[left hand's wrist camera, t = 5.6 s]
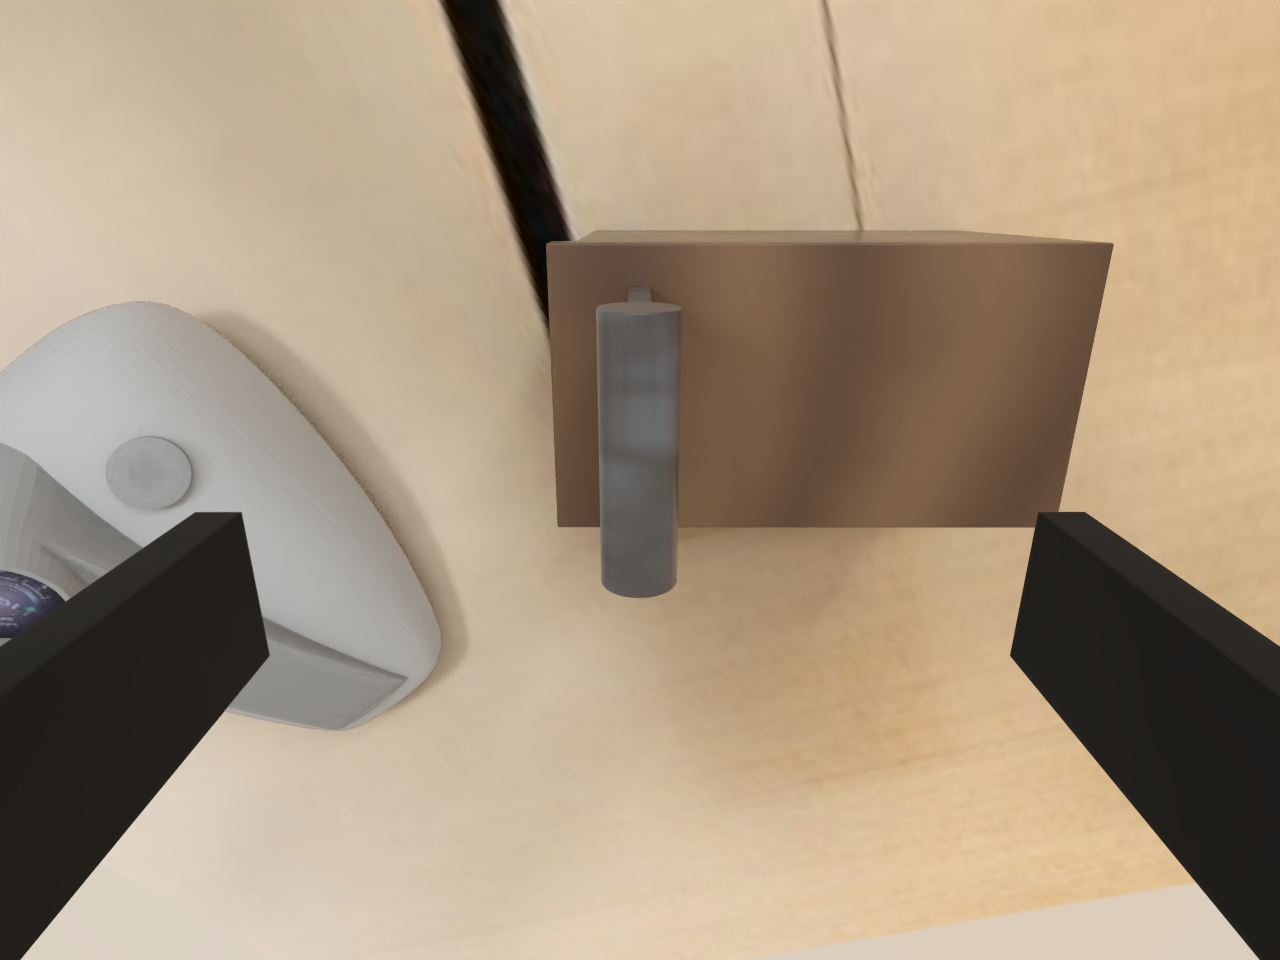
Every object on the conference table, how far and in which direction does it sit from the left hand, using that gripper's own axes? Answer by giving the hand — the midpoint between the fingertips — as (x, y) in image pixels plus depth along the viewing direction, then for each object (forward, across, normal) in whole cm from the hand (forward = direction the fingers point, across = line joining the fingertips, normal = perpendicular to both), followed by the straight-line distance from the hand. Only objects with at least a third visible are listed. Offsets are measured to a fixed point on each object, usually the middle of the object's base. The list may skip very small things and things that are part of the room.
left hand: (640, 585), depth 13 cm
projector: (+26, -20, -10) cm, 34 cm away
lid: (+15, +6, 0) cm, 16 cm away
